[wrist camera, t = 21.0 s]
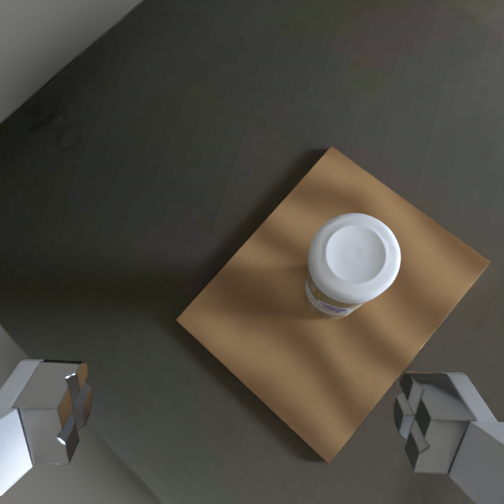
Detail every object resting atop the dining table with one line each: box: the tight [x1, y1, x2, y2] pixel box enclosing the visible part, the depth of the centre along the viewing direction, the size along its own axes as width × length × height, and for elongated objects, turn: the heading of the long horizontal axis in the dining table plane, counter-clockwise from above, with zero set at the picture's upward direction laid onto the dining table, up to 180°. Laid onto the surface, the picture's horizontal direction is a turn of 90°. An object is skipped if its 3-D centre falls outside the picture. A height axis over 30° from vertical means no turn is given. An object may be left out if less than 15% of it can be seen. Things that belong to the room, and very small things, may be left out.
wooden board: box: [176, 146, 490, 464], centre depth 34 cm, size 20×16×1 cm
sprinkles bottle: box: [303, 213, 401, 320], centre depth 28 cm, size 5×5×14 cm
